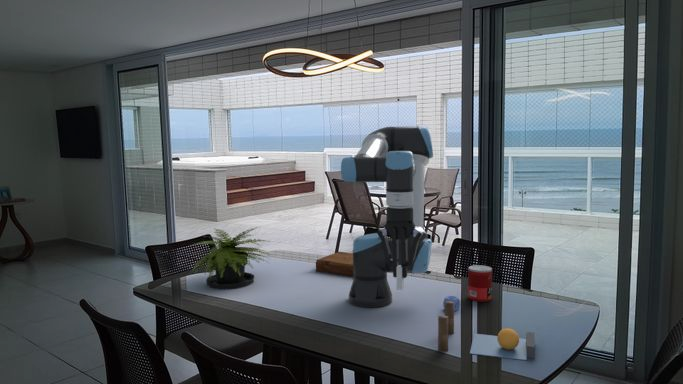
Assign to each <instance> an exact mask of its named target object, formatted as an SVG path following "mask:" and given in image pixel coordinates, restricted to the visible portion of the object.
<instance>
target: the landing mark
mask: <svg viewBox="0 0 683 384" xmlns="http://www.w3.org/2000/svg"><path fill="white" fill-rule="evenodd" d="M497 337H498V335H491V334H482V333H481V334H480V333H473V338H472V342H471V347H470V351H469V355H477V356H484V357H485V356H486V357H493V358H501V359H502V358H503V359H512V360H520V361H527V360H528V359H527V358H528V357H527V354H526V338H521V337H519V343H518V345H517V347H516V348H514V349H512V350H506V349H504V348H502V347H501V346H500V345H499V343H498V340H497Z"/></svg>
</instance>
